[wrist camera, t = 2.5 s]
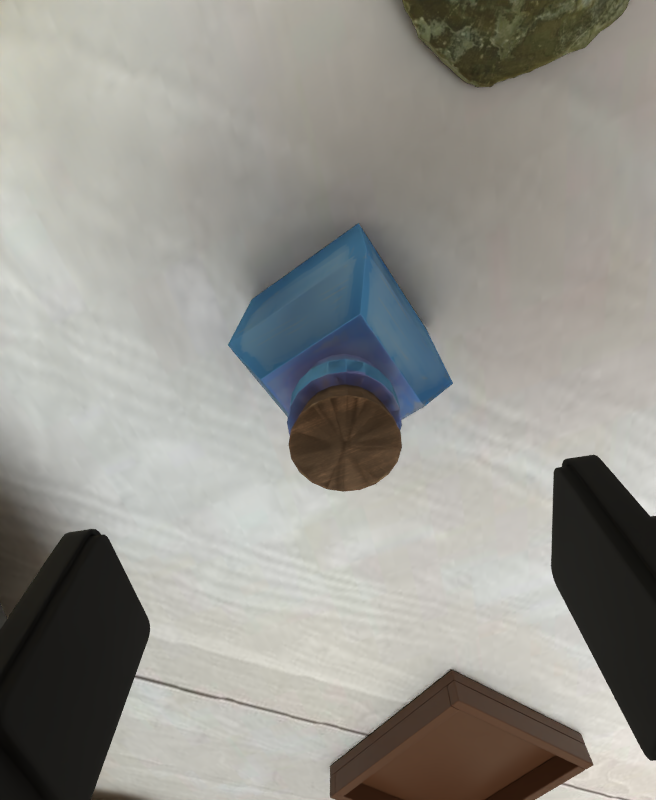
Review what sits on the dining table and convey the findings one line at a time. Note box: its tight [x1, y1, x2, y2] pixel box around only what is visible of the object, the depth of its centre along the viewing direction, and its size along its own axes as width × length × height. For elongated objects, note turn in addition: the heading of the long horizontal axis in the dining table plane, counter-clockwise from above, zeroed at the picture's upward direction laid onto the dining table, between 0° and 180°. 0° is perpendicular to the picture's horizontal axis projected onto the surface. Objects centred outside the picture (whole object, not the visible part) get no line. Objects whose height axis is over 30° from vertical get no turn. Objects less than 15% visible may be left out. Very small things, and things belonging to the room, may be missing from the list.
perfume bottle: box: [228, 223, 453, 491], centre depth 19 cm, size 6×6×12 cm
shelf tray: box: [330, 670, 593, 800], centre depth 41 cm, size 16×14×2 cm
